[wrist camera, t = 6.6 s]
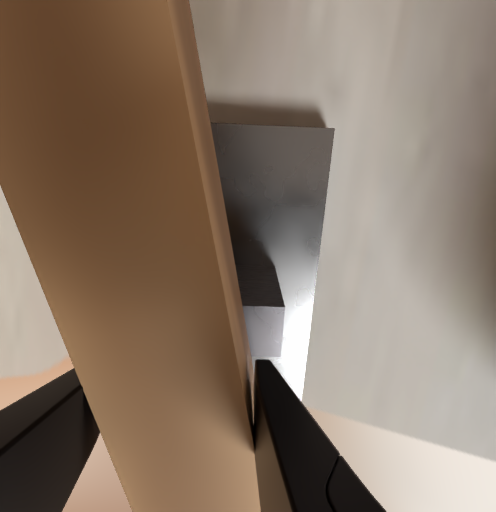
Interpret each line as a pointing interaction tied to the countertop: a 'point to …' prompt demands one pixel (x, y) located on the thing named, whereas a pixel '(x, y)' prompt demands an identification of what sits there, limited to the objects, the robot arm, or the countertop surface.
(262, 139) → the ridge stand
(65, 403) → the robot arm
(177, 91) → the oak rod
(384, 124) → the countertop surface
